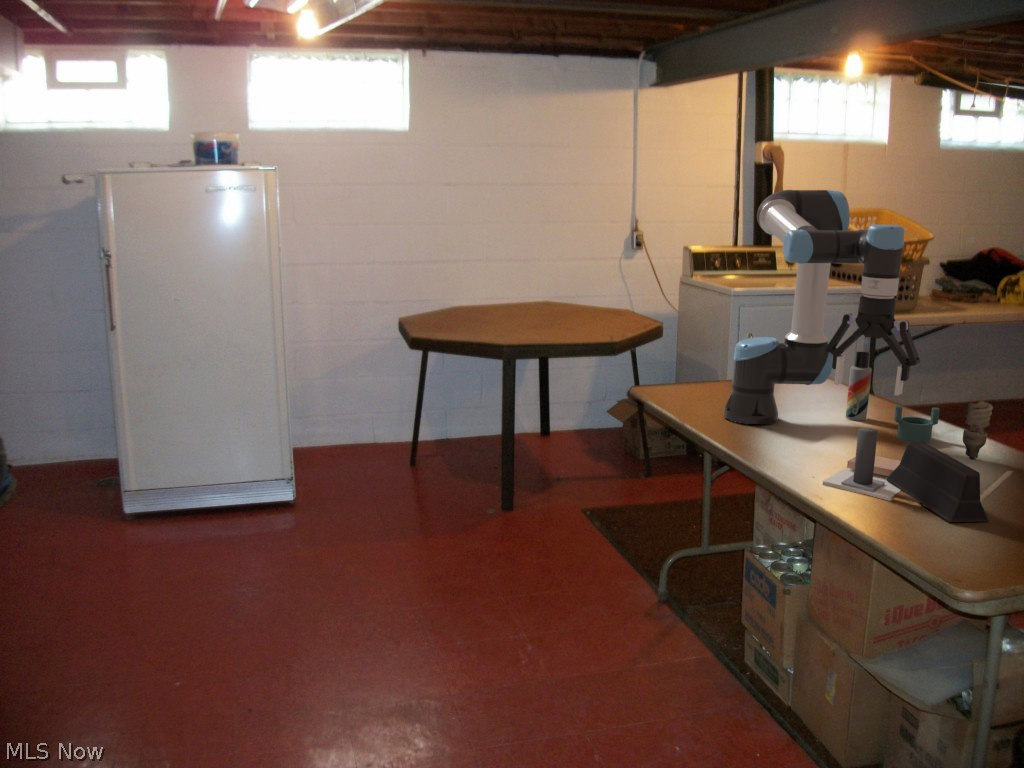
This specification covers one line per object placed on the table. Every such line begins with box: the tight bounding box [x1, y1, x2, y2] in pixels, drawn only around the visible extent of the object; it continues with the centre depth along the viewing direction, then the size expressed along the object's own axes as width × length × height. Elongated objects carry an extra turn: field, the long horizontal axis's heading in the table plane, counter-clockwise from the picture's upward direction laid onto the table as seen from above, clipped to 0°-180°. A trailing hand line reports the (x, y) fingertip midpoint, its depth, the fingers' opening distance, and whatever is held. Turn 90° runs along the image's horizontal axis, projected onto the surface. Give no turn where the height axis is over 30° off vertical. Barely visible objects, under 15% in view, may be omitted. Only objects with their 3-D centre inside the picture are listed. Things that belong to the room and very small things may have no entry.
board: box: [822, 466, 902, 502], centre depth 200 cm, size 15×26×1 cm, turn 138°
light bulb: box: [962, 400, 994, 460], centre depth 213 cm, size 6×6×15 cm
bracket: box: [893, 405, 940, 444], centre depth 231 cm, size 9×9×9 cm
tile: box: [846, 455, 901, 476], centre depth 203 cm, size 12×2×10 cm
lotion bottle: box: [845, 350, 872, 422], centre depth 249 cm, size 6×6×20 cm
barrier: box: [887, 441, 989, 523], centre depth 184 cm, size 24×9×10 cm, turn 8°
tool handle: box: [853, 427, 878, 485], centre depth 192 cm, size 4×4×12 cm
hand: (867, 388), depth 196 cm, fingers open, 13 cm apart
